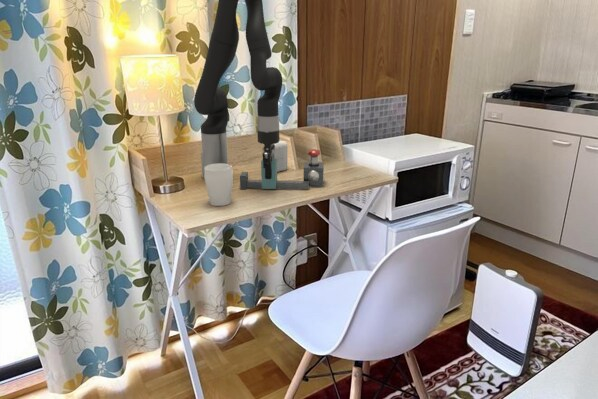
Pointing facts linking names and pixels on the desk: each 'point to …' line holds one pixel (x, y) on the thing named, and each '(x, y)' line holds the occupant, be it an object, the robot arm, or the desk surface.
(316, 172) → the rail unit
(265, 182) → the carriage
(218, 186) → the cup
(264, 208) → the desk surface
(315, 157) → the plunger
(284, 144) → the white rounded block
